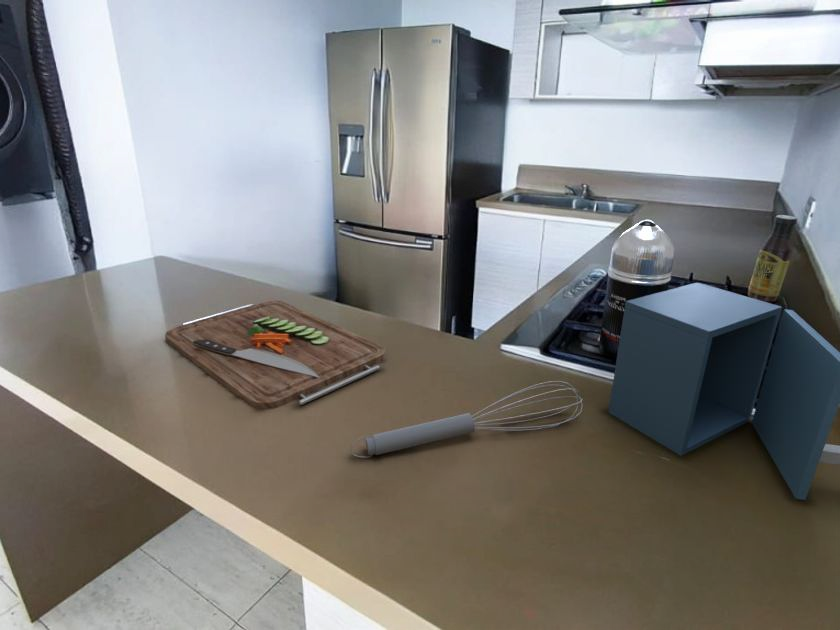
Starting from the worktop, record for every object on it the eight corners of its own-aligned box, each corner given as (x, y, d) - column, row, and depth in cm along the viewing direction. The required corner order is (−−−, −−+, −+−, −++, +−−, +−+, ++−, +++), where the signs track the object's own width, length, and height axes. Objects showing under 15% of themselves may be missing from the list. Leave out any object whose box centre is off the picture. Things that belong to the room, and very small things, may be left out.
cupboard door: (809, 430, 71) (849, 314, 64) (869, 511, 57) (928, 372, 50) (751, 422, 73) (783, 309, 66) (795, 498, 59) (842, 363, 52)
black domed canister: (635, 371, 88) (660, 229, 78) (585, 350, 95) (603, 219, 86) (666, 355, 93) (693, 221, 84) (617, 337, 101) (637, 212, 91)
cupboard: (749, 421, 73) (782, 306, 67) (680, 456, 66) (709, 331, 59) (675, 385, 83) (697, 282, 76) (607, 412, 76) (625, 301, 69)
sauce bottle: (740, 295, 123) (760, 214, 116) (762, 293, 124) (784, 212, 117) (761, 304, 117) (784, 219, 110) (785, 302, 118) (809, 218, 111)
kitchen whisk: (347, 444, 69) (345, 405, 66) (565, 407, 78) (570, 371, 75) (354, 473, 63) (352, 431, 61) (588, 429, 72) (594, 391, 70)
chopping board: (402, 361, 92) (402, 345, 91) (271, 421, 74) (268, 403, 73) (272, 301, 121) (271, 289, 120) (156, 334, 103) (153, 321, 102)
